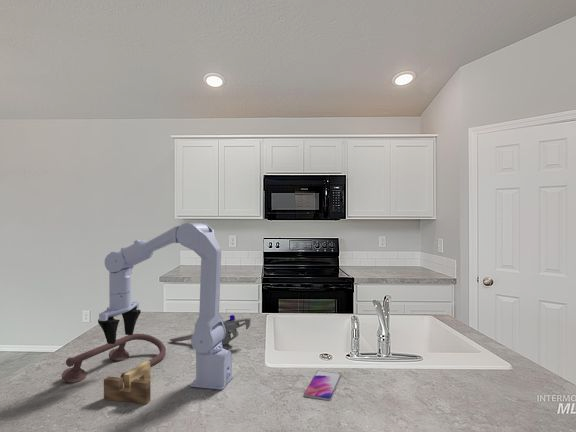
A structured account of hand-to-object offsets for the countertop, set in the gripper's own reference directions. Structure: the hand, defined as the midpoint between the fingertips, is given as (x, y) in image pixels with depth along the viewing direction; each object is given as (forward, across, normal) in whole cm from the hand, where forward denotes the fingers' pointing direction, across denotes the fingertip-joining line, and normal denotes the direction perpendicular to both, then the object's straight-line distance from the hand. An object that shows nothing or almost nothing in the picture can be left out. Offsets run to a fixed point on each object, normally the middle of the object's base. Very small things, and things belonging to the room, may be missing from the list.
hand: (120, 338), depth 101 cm
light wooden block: (+10, +6, +10) cm, 15 cm away
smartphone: (+11, -4, +59) cm, 60 cm away
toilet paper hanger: (+11, -4, -3) cm, 12 cm away
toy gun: (+10, -28, +15) cm, 33 cm away
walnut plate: (+10, +13, +12) cm, 20 cm away
